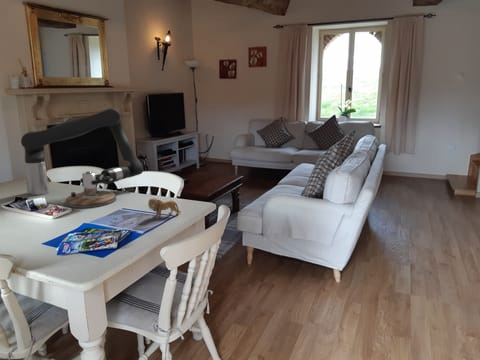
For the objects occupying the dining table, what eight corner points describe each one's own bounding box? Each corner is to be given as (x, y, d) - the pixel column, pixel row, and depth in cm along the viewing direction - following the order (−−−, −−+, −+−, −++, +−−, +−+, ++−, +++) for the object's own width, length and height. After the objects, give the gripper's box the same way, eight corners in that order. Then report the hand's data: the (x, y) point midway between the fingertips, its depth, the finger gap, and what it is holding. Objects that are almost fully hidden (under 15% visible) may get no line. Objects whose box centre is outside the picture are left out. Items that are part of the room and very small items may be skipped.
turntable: (56, 205, 175) (56, 199, 174) (79, 192, 198) (79, 186, 197) (103, 206, 174) (103, 199, 173) (121, 193, 196) (121, 187, 196)
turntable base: (55, 207, 175) (55, 205, 175) (79, 194, 198) (79, 192, 198) (104, 208, 174) (104, 206, 173) (123, 194, 197) (123, 193, 197)
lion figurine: (151, 220, 158) (149, 200, 156) (147, 217, 163) (146, 197, 160) (183, 214, 166) (182, 195, 163) (178, 211, 170) (177, 192, 168)
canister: (81, 198, 182) (78, 173, 179) (87, 194, 189) (85, 170, 186) (94, 198, 182) (92, 173, 179) (100, 194, 189) (98, 170, 186)
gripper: (102, 167, 198) (76, 172, 185) (121, 169, 192) (96, 176, 178) (103, 180, 200) (77, 187, 186) (122, 183, 194) (97, 190, 180)
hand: (86, 181), depth 182 cm, fingers open, 8 cm apart
